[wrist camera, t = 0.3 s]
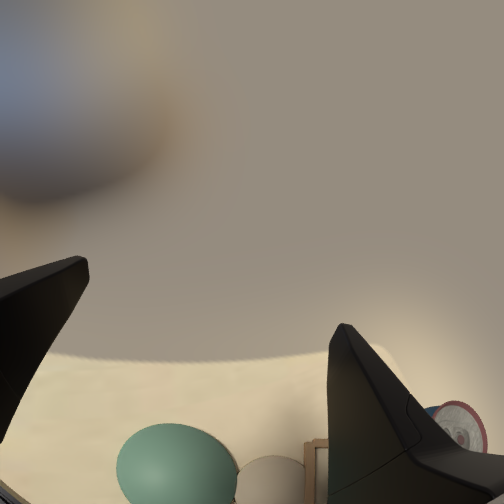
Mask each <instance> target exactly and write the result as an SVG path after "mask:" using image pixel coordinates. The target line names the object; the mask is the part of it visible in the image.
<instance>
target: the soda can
mask: <svg viewBox="0 0 504 504" xmlns="http://www.w3.org/2000/svg"><path fill="white" fill-rule="evenodd" d="M425 411H426V412H427V413H428V414H429V415H430V416H431V417H432V418H433V419H434V420H435V421H436V422H437V423H438V424H439V425H440V426H441V427H442V428H443V429H444V430H445V431H446V432H447V433H448V434H449V435H450V436H451V437H452V438H453V439H454V441H455V442H457V443H458V444H459V445H460V446H462V447H463V448H465V449H467V450H470V451H475V452H481V453H487V445H488V444H487V435H486V431H485V428H484V425H483V423H482V421H481V419H480V417H479V416H478V414H477V413H476V412H475V411H474V410H473V409H472V408H471V407H470V406H469V405H467V404H466V403H463V402H460V401H449V402H446V403H444V404H442V405H441V406H434V407H429V408H425Z"/></svg>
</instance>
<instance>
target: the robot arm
mask: <svg viewBox="0 0 504 504" xmlns="http://www.w3.org/2000/svg"><path fill="white" fill-rule="evenodd" d="M88 283H89V269H88V261H87V259H86V258H84V257H81V256H73V257H70V258H66V259H63V260H59V261H56V262H53V263H49V264H46V265H43V266H39V267H36V268H33V269H30V270H26V271H23V272H21V273H17V274H14V275H11V276H8V277H5V278H2V279H0V444H1V443H2V441H3V439H4V437H5V434H6V432H7V429H8V427H9V425H10V423H11V420H12V418H13V416H14V414H15V412H16V409H17V407H18V405H19V403H20V401H21V399H22V397H23V395H24V393H25V391H26V389H27V387H28V385H29V383H30V381H31V380H32V378H33V376H34V374H35V372H36V371H37V369H38V367H39V365H40V363H41V362H42V360H43V358H44V357H45V355H46V353H47V352H48V350H49V348H50V347H51V345H52V343H53V342H54V340H55V338H56V337H57V335H58V334H59V332H60V330H61V329H62V327H63V326H64V324H65V323H66V321H67V320H68V318H69V317H70V315H71V313H72V312H73V310H74V308H75V306H76V304H77V303H78V301H79V299H80V297H81V295H82V294H83V292H84V290H85V288H86V287H87V285H88ZM327 404H328V499H327V504H504V455H495V454H488V453H481V452H475V451H470V450H467V449H465V448H463V447H462V446H460V445H459V444H458V443H457V442H455V441H454V439H453V438H452V437H451V436H450V435H449V434H448V433H447V432H446V431H445V430H444V429H443V428H442V427H441V426H440V425H439V424H438V423H437V422H436V421H435V420H434V419H433V418H432V417H431V416H430V415H429V414H428V413H427V412H426V411H425V409H424V408H423V407H422V406H421V405H420V404H419V403H418V401H417V400H416V399H415V398H414V397H413V395H412V394H410V392H409V391H408V390H407V388H406V387H405V386H404V385H403V384H402V382H401V381H400V380H399V379H398V378H397V377H396V375H395V374H394V373H393V372H392V371H391V370H390V368H389V367H388V366H387V365H386V364H385V363H384V361H383V360H382V359H381V358H380V357H379V356H378V354H377V353H376V352H375V351H374V350H373V349H372V347H371V346H370V345H369V344H368V343H367V342H366V341H365V339H364V338H363V337H362V336H361V335H360V334H359V333H358V332H357V331H356V329H355V328H354V327H353V326H352V325H349V324H344V323H341V324H339V325H338V327H337V329H336V331H335V333H334V335H333V337H332V339H331V341H330V343H329V355H328V372H327ZM0 504H30V503H29V502H28V501H26V500H25V499H24V498H22V497H21V496H20V495H18V494H17V493H16V492H15V491H13V490H12V489H11V488H10V487H9V486H7V485H6V484H5V483H4V482H3V481H2V480H0Z"/></svg>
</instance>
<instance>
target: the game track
mask: <svg viewBox="0 0 504 504" xmlns="http://www.w3.org/2000/svg"><path fill="white" fill-rule="evenodd" d="M315 448H328V439H313V442H306V443H304V467H303V466H302V465H301V464H299V463H298V462H296V461H294V460H292V459H290V458H287V457H283V456H265V457H261V458H258V459H256V460H253V461H252V462H250V463H249V464H247V465H246V466H245V467H244V468H243V469H242V470H241V471H240V472H239V473H238V475H237V473H236V469H235V465H234V463H233V460H232V459H231V457H230V455H229V454H228V452H227V451H226V450H225V448H224V447H223V446H222V445H221V444H220V443H219V442H218V441H216V440H215V439H214V438H213V437H211V436H210V435H208V434H206V433H205V432H203V431H201V430H198V429H196V428H193V427H190V426H186V425H181V424H158V425H153V426H150V427H147V428H144V429H142V430H140V431H138V432H137V433H135V434H134V435H132V436H131V437H130V438H129V439H128V440H127V441H126V443H125V444H124V445H123V447H122V449H121V450H120V453H119V455H118V459H117V467H116V470H117V478H118V482H119V485H120V487H121V490H122V491H123V493H124V495H125V496H126V498H127V499H128V500H129V502H130V503H131V504H230V503H231V502H232V500H233V498H235V501H236V504H314V490H315Z"/></svg>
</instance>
